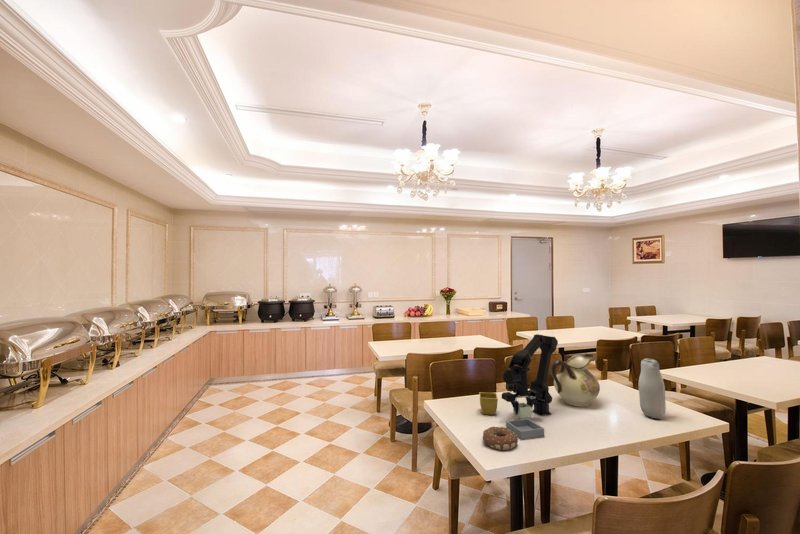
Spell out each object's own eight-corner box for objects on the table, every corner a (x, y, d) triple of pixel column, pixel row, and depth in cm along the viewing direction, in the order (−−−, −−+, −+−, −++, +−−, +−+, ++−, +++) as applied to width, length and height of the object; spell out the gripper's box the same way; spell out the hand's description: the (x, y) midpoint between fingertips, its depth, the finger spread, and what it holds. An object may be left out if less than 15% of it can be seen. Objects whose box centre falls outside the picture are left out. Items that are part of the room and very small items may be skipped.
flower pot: (498, 417, 168) (497, 398, 168) (480, 415, 169) (479, 397, 170) (496, 410, 176) (496, 392, 177) (479, 409, 178) (479, 392, 179)
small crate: (524, 413, 167) (524, 402, 167) (531, 417, 161) (531, 406, 161) (513, 414, 165) (513, 403, 165) (520, 419, 159) (520, 408, 160)
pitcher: (601, 400, 190) (599, 354, 191) (599, 414, 170) (597, 363, 171) (557, 394, 202) (555, 351, 203) (551, 406, 182) (549, 359, 183)
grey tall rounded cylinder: (670, 418, 164) (666, 359, 165) (659, 422, 159) (656, 362, 160) (647, 411, 172) (644, 355, 174) (636, 415, 167) (633, 358, 169)
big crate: (528, 426, 156) (528, 418, 157) (544, 436, 145) (544, 428, 146) (506, 428, 154) (505, 421, 154) (520, 440, 143) (520, 431, 143)
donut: (507, 435, 148) (507, 423, 148) (523, 450, 134) (523, 437, 135) (476, 438, 146) (476, 426, 146) (489, 453, 132) (489, 440, 132)
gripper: (528, 374, 174) (529, 406, 173) (495, 377, 169) (496, 409, 169) (542, 380, 163) (543, 414, 162) (507, 384, 159) (508, 418, 158)
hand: (522, 413), depth 163 cm, fingers closed on small crate, 6 cm apart
